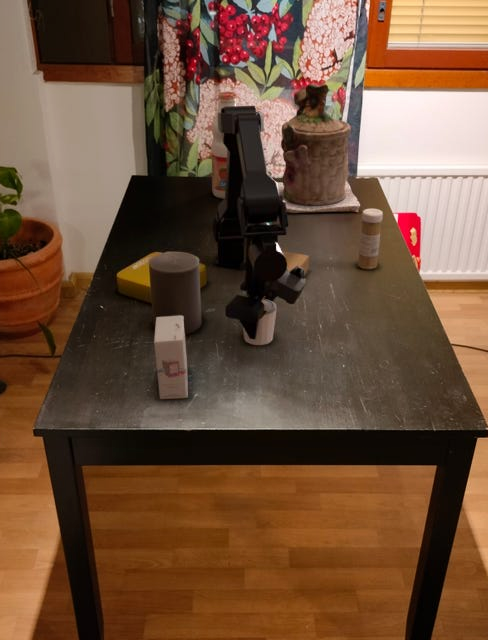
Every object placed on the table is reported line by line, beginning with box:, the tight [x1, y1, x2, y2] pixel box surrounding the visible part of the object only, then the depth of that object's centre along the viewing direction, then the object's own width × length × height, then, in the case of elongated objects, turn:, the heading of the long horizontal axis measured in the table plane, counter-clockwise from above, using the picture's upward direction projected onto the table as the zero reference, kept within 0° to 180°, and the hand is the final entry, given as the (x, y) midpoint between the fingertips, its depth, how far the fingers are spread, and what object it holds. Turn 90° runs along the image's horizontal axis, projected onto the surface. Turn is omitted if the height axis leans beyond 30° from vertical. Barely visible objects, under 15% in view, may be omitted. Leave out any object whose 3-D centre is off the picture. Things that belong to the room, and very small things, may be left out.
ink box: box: [153, 315, 189, 400], centre depth 122 cm, size 9×5×12 cm, turn 5°
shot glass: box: [242, 299, 278, 346], centre depth 137 cm, size 7×7×7 cm
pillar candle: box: [149, 251, 202, 335], centre depth 139 cm, size 10×10×15 cm
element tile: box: [116, 251, 208, 305], centre depth 155 cm, size 15×15×5 cm
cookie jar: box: [276, 83, 361, 214], centre depth 195 cm, size 25×25×32 cm
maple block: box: [282, 250, 310, 277], centre depth 160 cm, size 10×10×4 cm
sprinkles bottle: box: [357, 208, 384, 270], centre depth 163 cm, size 5×5×13 cm
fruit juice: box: [210, 91, 238, 200], centre depth 199 cm, size 9×9×28 cm
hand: (258, 331), depth 138 cm, fingers closed on shot glass, 6 cm apart
